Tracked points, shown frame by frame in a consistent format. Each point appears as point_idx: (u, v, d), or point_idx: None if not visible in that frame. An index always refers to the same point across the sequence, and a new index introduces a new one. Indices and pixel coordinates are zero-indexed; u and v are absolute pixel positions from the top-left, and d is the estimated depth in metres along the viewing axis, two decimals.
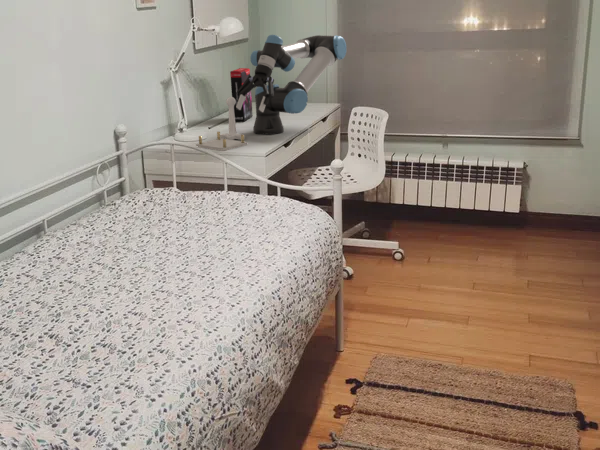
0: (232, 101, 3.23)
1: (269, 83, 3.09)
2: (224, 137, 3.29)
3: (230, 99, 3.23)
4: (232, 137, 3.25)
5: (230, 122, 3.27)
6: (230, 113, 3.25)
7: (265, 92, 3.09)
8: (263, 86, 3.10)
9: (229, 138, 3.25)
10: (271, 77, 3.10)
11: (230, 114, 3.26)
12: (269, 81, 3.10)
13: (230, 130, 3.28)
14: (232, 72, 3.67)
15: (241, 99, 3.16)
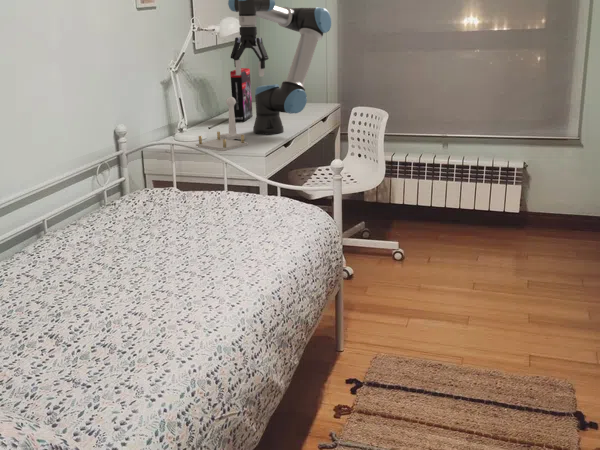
0: (232, 101, 3.23)
1: (259, 46, 3.00)
2: (224, 137, 3.29)
3: (230, 99, 3.23)
4: (232, 137, 3.25)
5: (230, 122, 3.27)
6: (230, 113, 3.25)
7: (258, 56, 3.02)
8: (254, 50, 3.02)
9: (229, 138, 3.25)
10: (258, 38, 2.99)
11: (230, 114, 3.26)
12: (258, 43, 3.00)
13: (230, 130, 3.28)
14: (232, 72, 3.67)
15: (238, 65, 3.11)
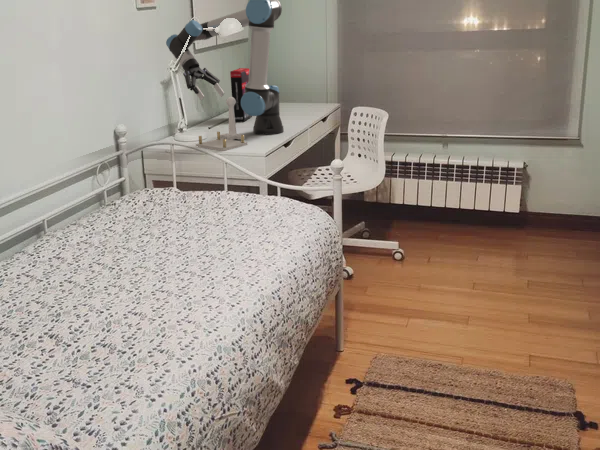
0: (232, 101, 3.23)
1: None
2: (224, 137, 3.29)
3: (230, 99, 3.23)
4: (232, 137, 3.25)
5: (230, 122, 3.27)
6: (230, 113, 3.25)
7: None
8: None
9: (229, 138, 3.25)
10: (183, 73, 3.27)
11: (230, 114, 3.26)
12: None
13: (230, 130, 3.28)
14: (232, 72, 3.67)
15: (216, 88, 3.35)
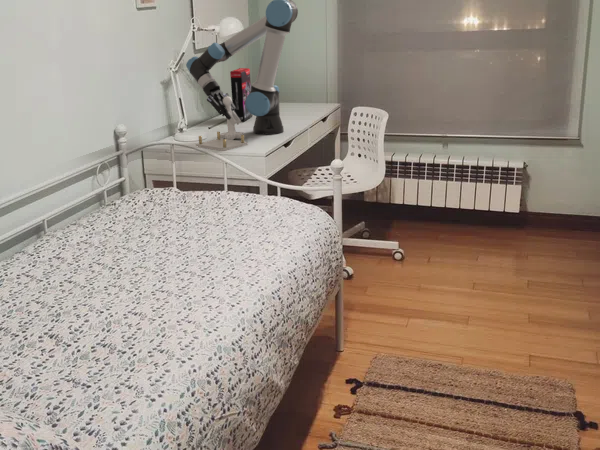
0: (228, 101, 3.21)
1: None
2: (224, 137, 3.29)
3: (226, 99, 3.21)
4: (232, 137, 3.25)
5: (228, 121, 3.26)
6: None
7: None
8: None
9: (229, 138, 3.25)
10: (207, 100, 3.23)
11: None
12: None
13: (229, 129, 3.27)
14: (232, 72, 3.67)
15: (233, 116, 3.26)
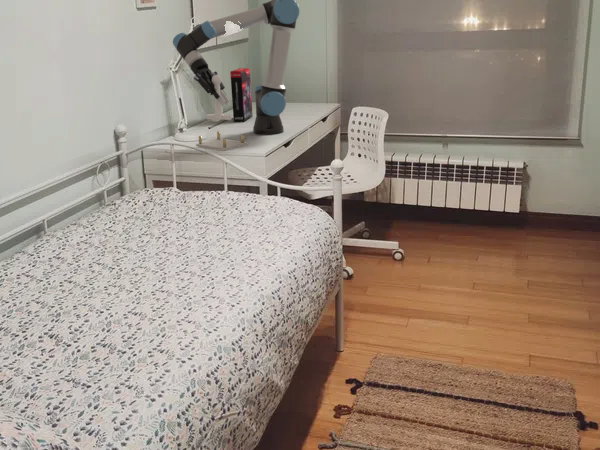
0: (218, 79, 3.05)
1: None
2: (210, 118, 3.11)
3: (216, 77, 3.05)
4: (218, 117, 3.07)
5: (216, 101, 3.09)
6: None
7: None
8: None
9: (215, 118, 3.07)
10: (194, 78, 3.06)
11: None
12: None
13: (216, 110, 3.10)
14: (232, 72, 3.67)
15: (221, 95, 3.09)
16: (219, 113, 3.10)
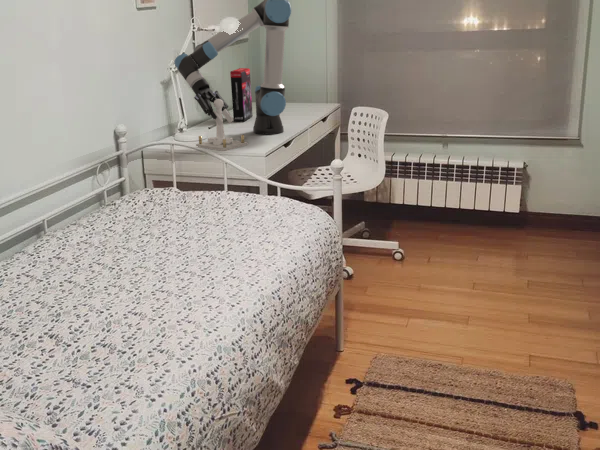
0: (219, 103, 3.08)
1: None
2: (212, 141, 3.15)
3: (217, 101, 3.08)
4: (219, 141, 3.11)
5: (218, 125, 3.12)
6: None
7: None
8: None
9: (216, 142, 3.10)
10: None
11: None
12: None
13: (218, 133, 3.13)
14: (232, 72, 3.67)
15: (225, 114, 3.13)
16: (221, 136, 3.13)
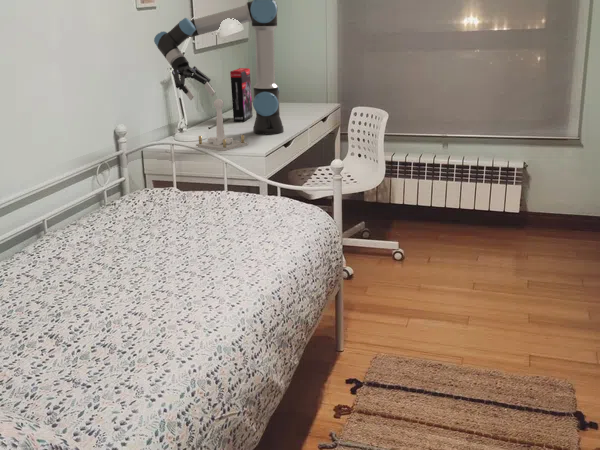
0: (220, 103, 3.08)
1: None
2: (212, 141, 3.15)
3: (217, 101, 3.08)
4: (219, 141, 3.11)
5: (218, 125, 3.12)
6: (218, 116, 3.11)
7: None
8: None
9: (216, 142, 3.10)
10: None
11: (218, 117, 3.11)
12: None
13: (218, 133, 3.13)
14: (232, 72, 3.67)
15: (207, 88, 3.20)
16: (221, 137, 3.13)
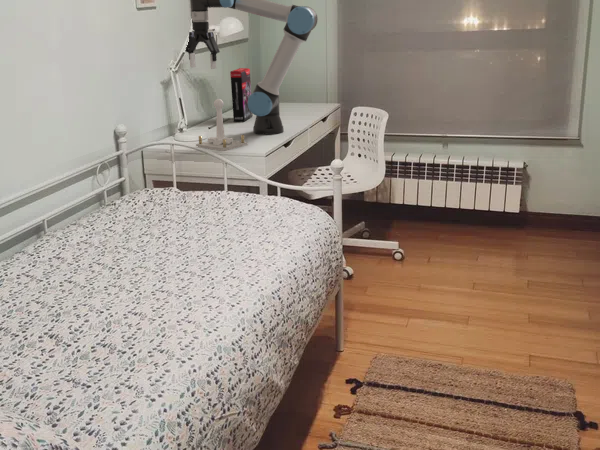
0: (220, 103, 3.08)
1: (210, 40, 3.19)
2: (212, 141, 3.15)
3: (217, 101, 3.08)
4: (219, 141, 3.11)
5: (218, 125, 3.12)
6: (218, 116, 3.11)
7: (210, 50, 3.20)
8: (206, 43, 3.21)
9: (216, 142, 3.10)
10: (210, 33, 3.18)
11: (218, 117, 3.11)
12: (209, 37, 3.19)
13: (218, 133, 3.13)
14: (232, 72, 3.67)
15: (192, 58, 3.30)
16: (221, 137, 3.13)
